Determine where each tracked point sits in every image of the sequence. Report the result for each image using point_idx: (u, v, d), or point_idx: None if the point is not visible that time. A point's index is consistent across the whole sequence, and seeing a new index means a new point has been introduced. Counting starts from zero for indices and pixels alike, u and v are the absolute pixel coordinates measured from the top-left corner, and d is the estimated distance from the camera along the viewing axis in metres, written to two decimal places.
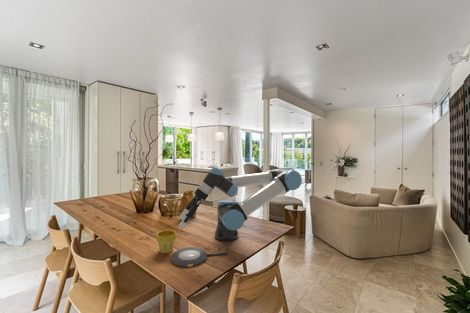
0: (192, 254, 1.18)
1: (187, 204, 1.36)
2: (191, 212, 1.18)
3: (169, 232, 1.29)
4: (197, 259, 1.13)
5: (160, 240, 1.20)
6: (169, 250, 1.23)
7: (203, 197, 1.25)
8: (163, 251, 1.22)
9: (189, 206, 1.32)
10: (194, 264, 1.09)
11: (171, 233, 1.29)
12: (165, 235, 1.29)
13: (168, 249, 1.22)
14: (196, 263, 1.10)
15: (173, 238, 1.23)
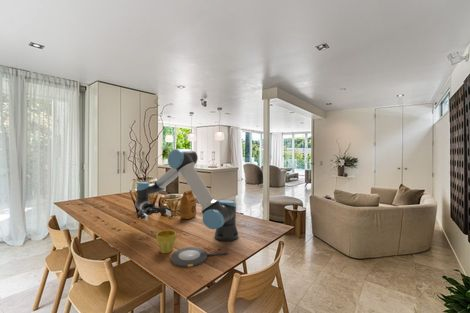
0: (192, 254, 1.18)
1: None
2: None
3: (169, 232, 1.29)
4: (197, 259, 1.13)
5: (160, 240, 1.20)
6: (169, 250, 1.23)
7: (143, 207, 1.45)
8: (163, 251, 1.22)
9: (162, 211, 1.43)
10: (194, 264, 1.09)
11: (171, 233, 1.29)
12: (165, 235, 1.29)
13: (168, 249, 1.22)
14: (196, 263, 1.10)
15: (173, 238, 1.23)
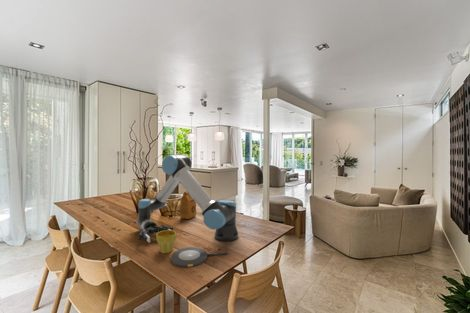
0: (192, 254, 1.18)
1: None
2: None
3: (169, 232, 1.29)
4: (197, 259, 1.13)
5: (160, 240, 1.20)
6: (169, 250, 1.23)
7: (145, 226, 1.42)
8: (163, 251, 1.22)
9: None
10: (194, 264, 1.09)
11: (171, 233, 1.29)
12: (165, 235, 1.29)
13: (168, 249, 1.22)
14: (196, 263, 1.10)
15: (173, 238, 1.23)
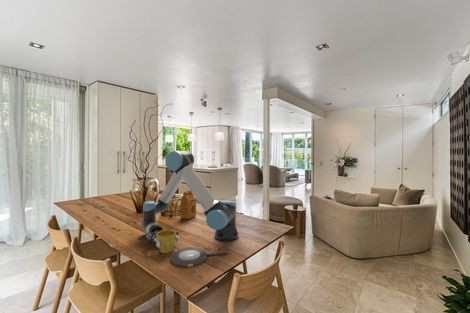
0: (192, 254, 1.18)
1: None
2: None
3: (169, 232, 1.29)
4: (197, 259, 1.13)
5: (160, 240, 1.20)
6: (169, 250, 1.23)
7: (150, 230, 1.35)
8: (163, 251, 1.22)
9: None
10: (194, 264, 1.09)
11: (171, 233, 1.29)
12: (165, 235, 1.29)
13: (168, 249, 1.22)
14: (196, 263, 1.10)
15: (173, 238, 1.23)
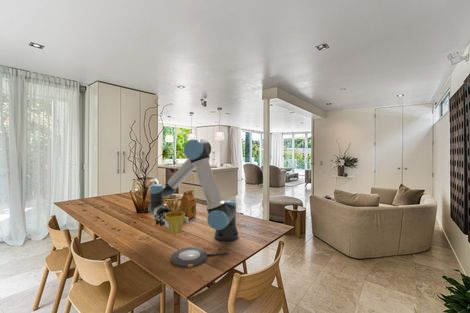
0: (192, 254, 1.18)
1: None
2: None
3: (177, 214, 1.25)
4: (197, 259, 1.13)
5: (169, 220, 1.16)
6: (178, 231, 1.19)
7: (158, 212, 1.31)
8: (172, 232, 1.18)
9: None
10: (194, 264, 1.09)
11: (179, 214, 1.25)
12: (173, 216, 1.25)
13: (177, 230, 1.18)
14: (196, 263, 1.10)
15: (182, 218, 1.19)
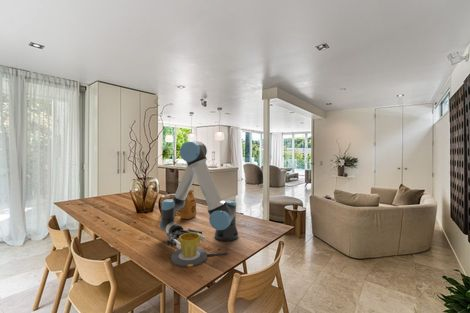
0: None
1: None
2: None
3: (191, 235, 1.22)
4: (197, 259, 1.13)
5: (184, 243, 1.12)
6: (193, 254, 1.15)
7: (170, 230, 1.27)
8: (187, 255, 1.14)
9: None
10: (194, 264, 1.09)
11: (194, 236, 1.21)
12: (187, 238, 1.21)
13: (192, 253, 1.15)
14: (196, 263, 1.10)
15: (197, 241, 1.15)
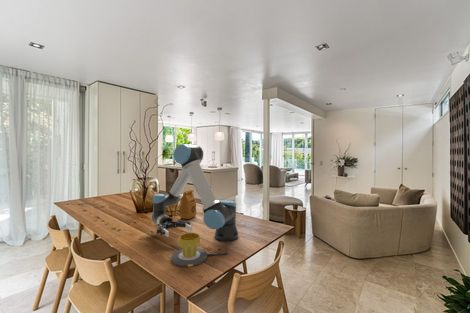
0: None
1: None
2: None
3: (191, 235, 1.22)
4: (197, 259, 1.13)
5: (184, 244, 1.12)
6: (193, 254, 1.15)
7: (161, 221, 1.38)
8: (187, 255, 1.14)
9: (181, 225, 1.36)
10: (194, 264, 1.09)
11: (194, 236, 1.21)
12: (187, 238, 1.21)
13: (192, 253, 1.15)
14: (196, 263, 1.10)
15: (197, 241, 1.15)
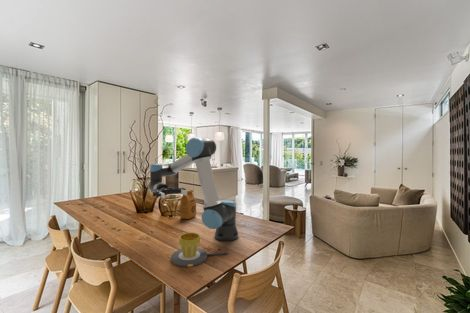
0: None
1: None
2: None
3: (191, 235, 1.22)
4: (197, 259, 1.13)
5: (184, 244, 1.12)
6: (193, 254, 1.15)
7: (157, 188, 1.42)
8: (187, 255, 1.14)
9: (177, 191, 1.40)
10: (194, 264, 1.09)
11: (194, 236, 1.21)
12: (187, 238, 1.21)
13: (192, 253, 1.15)
14: (196, 263, 1.10)
15: (197, 241, 1.15)
